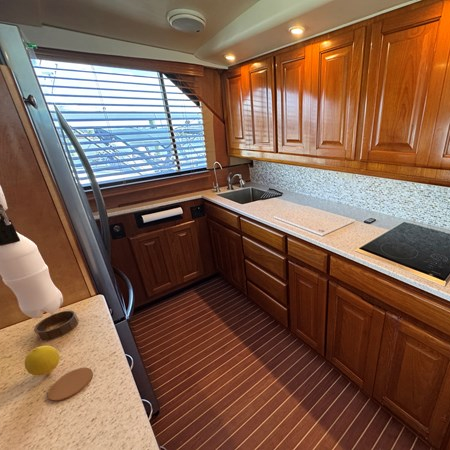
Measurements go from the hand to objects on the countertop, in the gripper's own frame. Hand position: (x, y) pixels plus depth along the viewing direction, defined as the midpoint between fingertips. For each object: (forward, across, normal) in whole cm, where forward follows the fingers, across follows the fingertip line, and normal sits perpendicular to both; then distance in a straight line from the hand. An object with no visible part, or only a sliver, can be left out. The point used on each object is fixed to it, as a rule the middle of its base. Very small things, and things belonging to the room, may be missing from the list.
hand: (8, 239), depth 52 cm
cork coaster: (+33, +13, -1) cm, 36 cm away
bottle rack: (+33, -13, +1) cm, 36 cm away
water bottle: (+20, 0, 0) cm, 20 cm away
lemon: (+34, +5, -4) cm, 34 cm away
